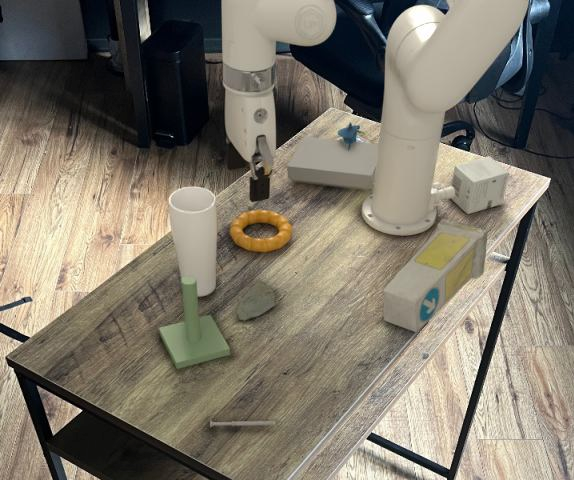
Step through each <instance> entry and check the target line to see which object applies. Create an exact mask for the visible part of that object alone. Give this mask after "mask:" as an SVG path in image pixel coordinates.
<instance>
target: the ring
mask: <svg viewBox="0 0 574 480" xmlns="http://www.w3.org/2000/svg"><path fill="white" fill-rule="evenodd" d="M257 223H259V224H269V225H272V226H273V227H276V228H277V229H278V233H277V234H276V235H274V236H271V237H267V238H256V237H251V236H249V235H247V234H245V233H244V231H243V230H244V229H245V228H247V226H249V225H255V224H257ZM292 232H293V226H292V225H291V222H289V221H288V219H287V218H286V216H284V215H283V214H280V213H278V212H275V211H273V210H265V209H254V210H250V211H245V212H243V213H240V215H238V216H237V217H236V218H234V219H233V220H232V221H231V224H230V228H229V236H230V237H231V239H232V241H233V242H234V243H235V245H237V246H238V247H240V248H242V249H245V250H247V251H249V252H256V253H257V252H258V253H268V252H272V251H276V250H280V249H282V247H284V246H285V245H286V244H287V243H289V242H290V240H291V238H292Z"/></svg>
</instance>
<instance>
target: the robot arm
mask: <svg viewBox="0 0 574 480" xmlns="http://www.w3.org/2000/svg"><path fill="white" fill-rule="evenodd" d="M445 2H446V3H447V5H448V7H449V9H448V10H447V12H446V14H444V13H443V12H442V11H441V10H440V9H438V8H437V7H435V6H431V5H428V4H417V5H414V6H411V7H409V8H407V9H405V10H404V11H403V12H402V13H401V14H400V15H398V17H397V18H396V19H395V21H394V22H393V24H392V26H391V28H390V29H389V32H388V35H387V39H386V45H385V53H384V87H383V88H384V89H383V101H382V102H383V103H382V112H381V119H380V128H379V135H378V136H379V137H378V143H377V144H378V153H377V162H376V170H375V179H374V184H373V187H372V188H373V189H372V193H371V194H369V195H368V196H367V197H366V198H365V199H364V200H363V202H362V205H361V216H362V218H363V220H364V221H365V223H366V224H368V225H369V227H371V228H372V229H374V230H376V231H378V232H380V233H383V234H388V235H391V236H402V237H404V236H413V235H418V234H421V233H424V232H425V231H427V230H429V229H430V228H431V227H433V226H434V224H435V222H436V219H437V208H436V205H437V204H440V201H447V200H452V199H451V198H454V197H455V189H454V187H452V186H451V185H450V186H447V187H442V184H441V182H439V181H436V182H434V178H435V171H436V166H437V161H438V155H439V150H440V145H441V144H440V143H441V137H442V131H443V128H444V122H445V117H446V112H447V111H449V110H451V109H452V108H454V107H455V106H456V105H458V104H460V102H461V101H462V100H463V99H464V98H465V97H466V96H467V95H468V93H470V92H471V90H472V89H473V88H474V86H475V85H476V84H477V83H478V81H480V79H481V78H482V77H483V76H484V74H485V73H486V72H487V71H488V70H489V68H490V67H491V66H492V64H493V63H494V62H495V60H496V59H497V58H498V57H499V56H500V54H501V53H502V51H504V49H505V48H506V47H507V46H508V44H509V43H510V41H511V40H512V39H513V38H514V36H515V34H516V33H517V32H518V30H519V29H520V27H521V25H522V23H523V21H524V19H525V16H526V14H527V11H528V8H529V4H530V0H445ZM336 8H337V7H336V4H335V0H221V40H222V41H221V51H222V55H221V56H222V85H223V87H224V89H225V91H224V92H225V94H224V95H225V96H224V127H225V133H226V136H225V141H226V168H227V170H228V171H234V170H238V169H244V168H246V167H247V162H248V164H249V169H250V173H251V176H249V188H248V189H249V194H248V196H249V198H248V199H249V201H250V202H251V203H256V202H262V201H266V200H269V199H270V196H271V195H270V194H271V193H270V192H271V177H272V174H273V170H274V169H273V168H274V165H275V161H274V158H275V157H276V154H277V128H276V127H277V124H276V122H277V121H276V105H275V97H274V92H273V90H274V88H275V83H276V80H275V79H276V54H277V42H279V43H286V44H289V45H294V46H295V45H296V46H300V47H302V46H303V47H313V46H316V45H320V44H322V43H324V42H325V41H326V40H328V38H329V37H330V36H331V35H332V33H333V31H334V30H335V28H336V27H335V26H336V25H337V24H336V23H337V9H336ZM257 153H259V155H256V156H254V155H255V154H257ZM258 162H261V166H260V167H258V168H257V165H256V163H258Z"/></svg>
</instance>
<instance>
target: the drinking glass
mask: <svg viewBox="0 0 574 480" xmlns="http://www.w3.org/2000/svg"><path fill="white" fill-rule="evenodd" d="M217 206H218V205H217V198H216V195H215V194H214V193H213V192H212V191H211V190H209V189H207V188H205V187H202V186H185V187H181V188H179V189H176V190H174V191H173V192H172V193H171V194H170V195H169V196H168V216H169V223H170V231H171V236H172V241H173V246H174V251H175V255H176V261H177V267H178V271H179V277H180V281H181V280H182V278H183V277H185V276H193V277H195V278H196V282H197V295H198V298H201V297H207V296H209V295H210V294H212V293H213V292H214V291H215V289H216V287H217V274H216V273H217V253H218V232H219V231H218V230H219V229H218V228H219V226H218V225H219V223H218V218H219V217H218V207H217ZM180 285H181V287H182V283H181V282H180Z"/></svg>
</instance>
